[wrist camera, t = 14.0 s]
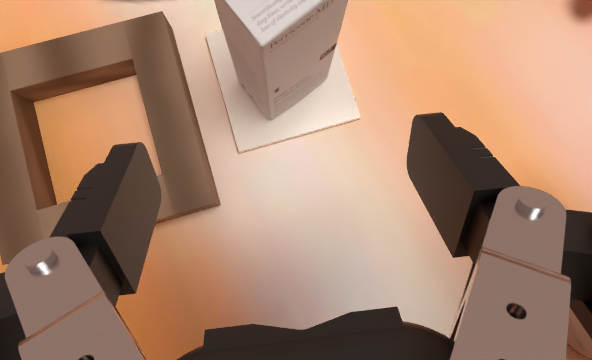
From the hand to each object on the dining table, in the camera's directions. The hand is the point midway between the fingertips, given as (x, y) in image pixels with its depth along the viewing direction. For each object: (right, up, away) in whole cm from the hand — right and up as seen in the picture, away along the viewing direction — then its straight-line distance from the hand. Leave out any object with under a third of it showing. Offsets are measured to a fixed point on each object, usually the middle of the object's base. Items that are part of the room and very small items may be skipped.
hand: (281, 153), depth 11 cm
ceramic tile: (-1, +8, +19) cm, 20 cm away
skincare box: (-1, +7, +19) cm, 20 cm away
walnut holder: (-15, +2, +18) cm, 23 cm away
